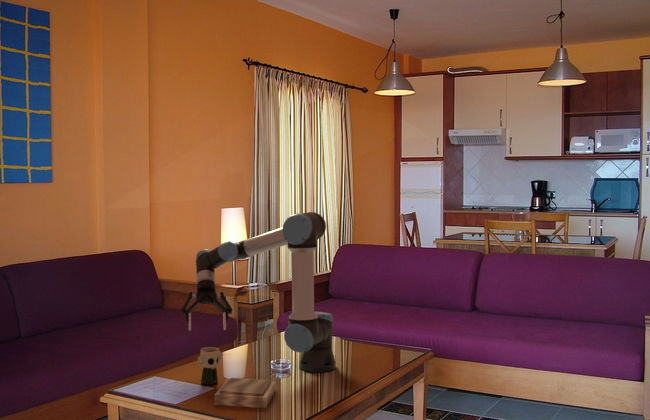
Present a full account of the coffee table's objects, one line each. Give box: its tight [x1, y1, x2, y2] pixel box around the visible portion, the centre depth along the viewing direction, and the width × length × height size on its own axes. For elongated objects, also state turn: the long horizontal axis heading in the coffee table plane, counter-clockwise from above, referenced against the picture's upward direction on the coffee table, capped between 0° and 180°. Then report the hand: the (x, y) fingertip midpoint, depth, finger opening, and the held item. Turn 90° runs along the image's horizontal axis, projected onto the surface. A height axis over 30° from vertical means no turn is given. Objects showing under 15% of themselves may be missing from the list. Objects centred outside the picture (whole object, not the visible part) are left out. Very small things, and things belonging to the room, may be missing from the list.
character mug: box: [197, 346, 223, 385], centre depth 254 cm, size 11×7×13 cm, turn 137°
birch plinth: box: [214, 377, 276, 409], centre depth 240 cm, size 18×18×4 cm
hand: (207, 328), depth 264 cm, fingers open, 13 cm apart
